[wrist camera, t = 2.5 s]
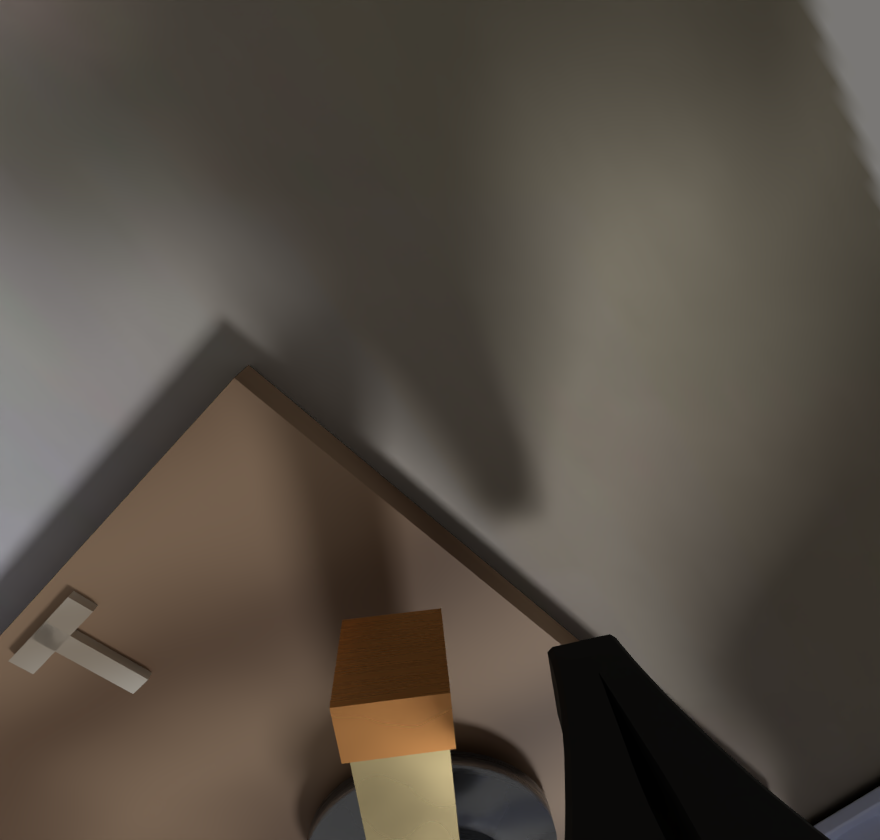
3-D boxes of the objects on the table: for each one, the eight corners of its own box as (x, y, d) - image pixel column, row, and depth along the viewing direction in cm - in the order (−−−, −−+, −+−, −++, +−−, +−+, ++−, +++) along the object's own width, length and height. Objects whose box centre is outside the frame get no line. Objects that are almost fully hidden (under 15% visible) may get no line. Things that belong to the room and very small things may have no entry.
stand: (771, 800, 17) (797, 840, 16) (458, 997, 20) (461, 1042, 19) (248, 364, 11) (230, 380, 10) (-104, 752, 14) (-149, 799, 13)
